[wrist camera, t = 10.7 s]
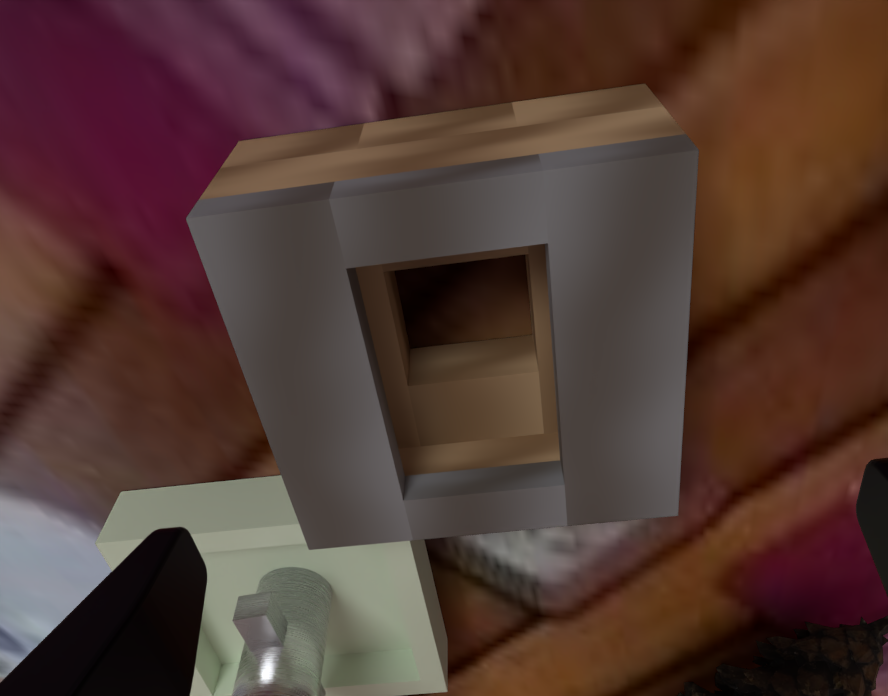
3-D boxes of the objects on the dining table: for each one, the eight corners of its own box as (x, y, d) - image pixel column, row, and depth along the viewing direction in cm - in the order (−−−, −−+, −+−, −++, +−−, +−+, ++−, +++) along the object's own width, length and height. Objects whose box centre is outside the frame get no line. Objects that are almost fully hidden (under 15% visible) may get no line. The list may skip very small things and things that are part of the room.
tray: (406, 462, 27) (403, 513, 25) (447, 639, 33) (447, 691, 31) (120, 491, 28) (95, 543, 26) (212, 658, 34) (198, 710, 32)
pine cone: (692, 865, 34) (600, 812, 33) (679, 760, 38) (598, 712, 37) (1043, 678, 25) (930, 603, 25) (974, 572, 30) (877, 505, 29)
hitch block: (645, 83, 19) (698, 150, 15) (640, 406, 25) (678, 515, 21) (239, 141, 20) (186, 218, 16) (330, 439, 26) (309, 550, 22)
